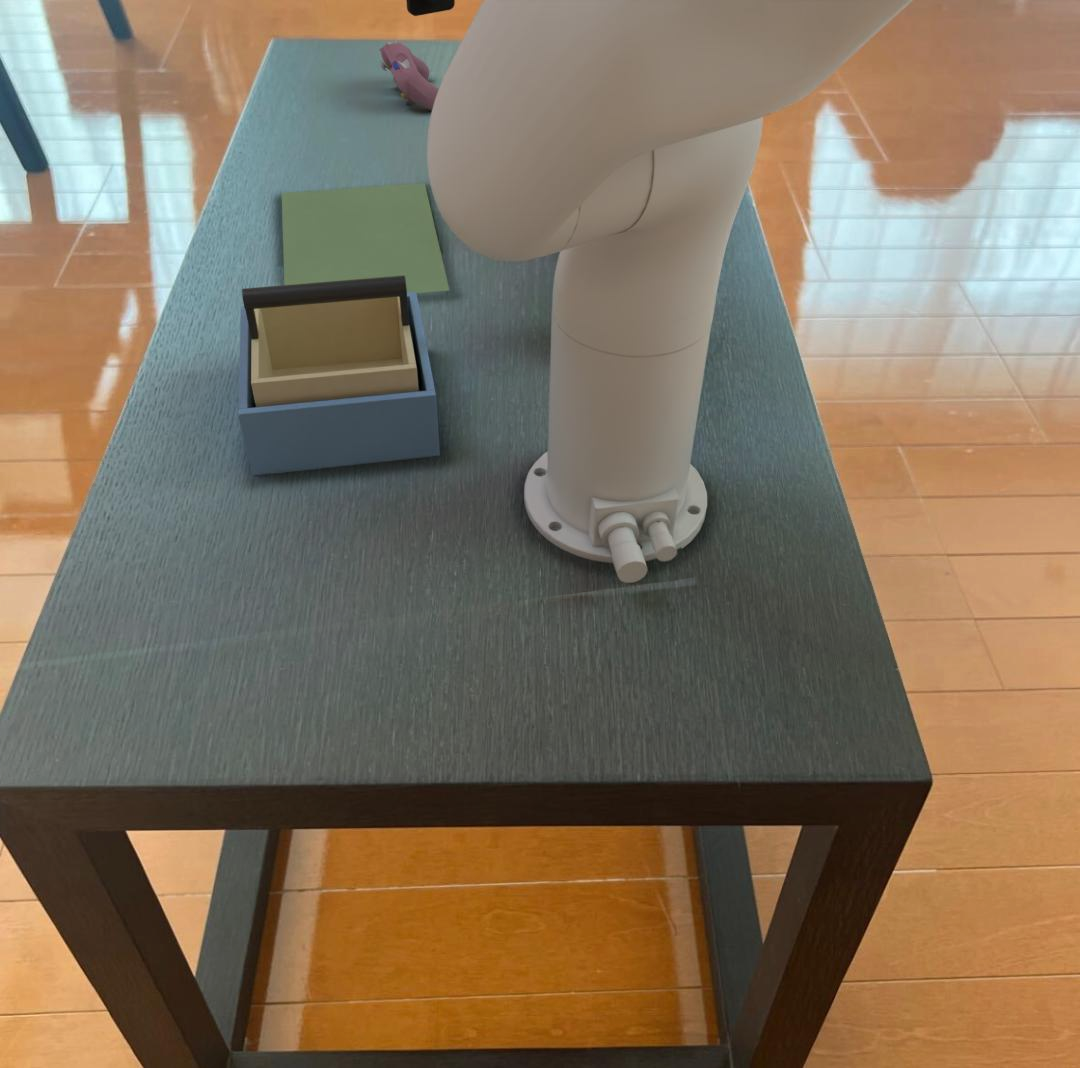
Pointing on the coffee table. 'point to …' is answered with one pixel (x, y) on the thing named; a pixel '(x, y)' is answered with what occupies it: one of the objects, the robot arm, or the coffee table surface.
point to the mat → (362, 236)
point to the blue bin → (340, 419)
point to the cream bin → (330, 340)
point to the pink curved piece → (409, 74)
